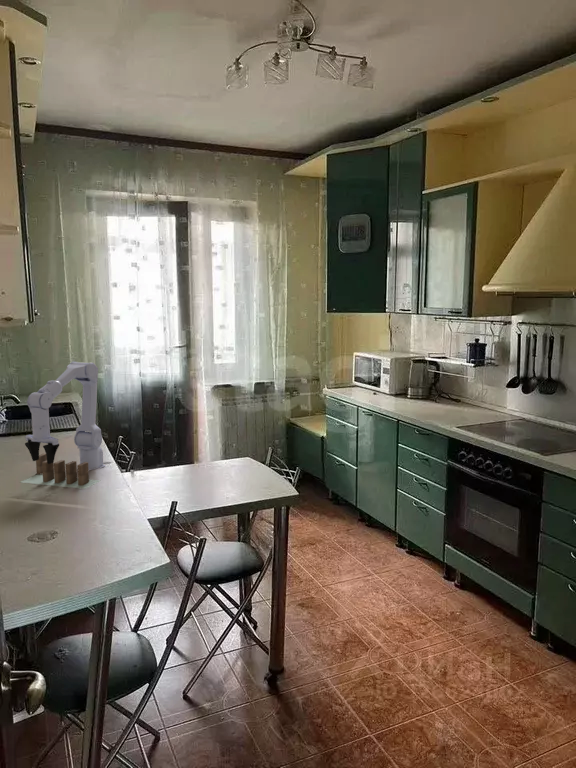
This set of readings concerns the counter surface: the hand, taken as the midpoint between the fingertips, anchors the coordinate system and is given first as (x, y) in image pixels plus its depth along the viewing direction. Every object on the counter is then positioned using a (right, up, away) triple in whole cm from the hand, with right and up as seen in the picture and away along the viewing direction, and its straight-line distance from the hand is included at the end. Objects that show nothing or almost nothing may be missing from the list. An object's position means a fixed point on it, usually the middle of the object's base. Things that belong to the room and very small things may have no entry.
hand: (43, 461), depth 212 cm
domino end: (+13, -9, +4) cm, 16 cm away
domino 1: (-8, -7, +18) cm, 21 cm away
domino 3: (+4, -8, +7) cm, 11 cm away
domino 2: (-1, -8, +8) cm, 11 cm away
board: (+4, -9, +7) cm, 12 cm away
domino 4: (+9, -8, +5) cm, 13 cm away
